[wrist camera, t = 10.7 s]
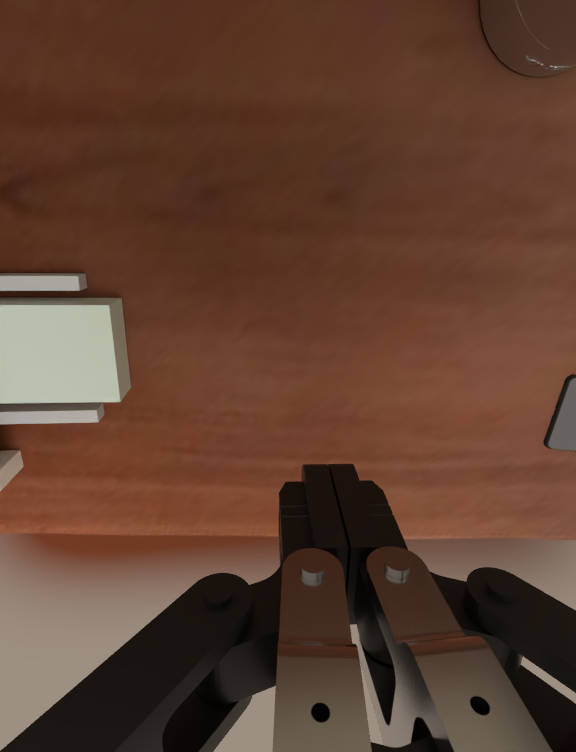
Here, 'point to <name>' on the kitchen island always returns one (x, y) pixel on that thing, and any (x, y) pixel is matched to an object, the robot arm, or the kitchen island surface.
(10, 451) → the cream rectangular prism
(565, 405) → the smartphone
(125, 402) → the kitchen island surface
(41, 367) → the sage green bar
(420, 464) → the kitchen island surface
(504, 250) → the kitchen island surface
